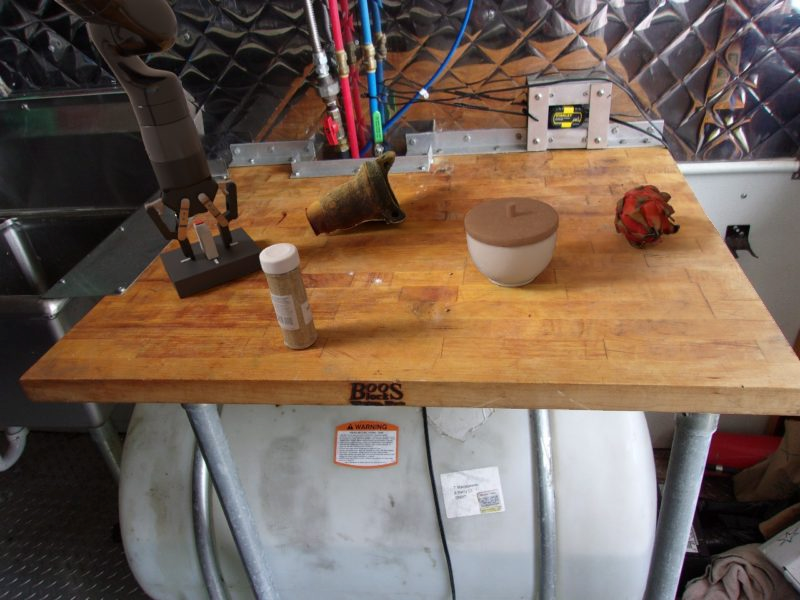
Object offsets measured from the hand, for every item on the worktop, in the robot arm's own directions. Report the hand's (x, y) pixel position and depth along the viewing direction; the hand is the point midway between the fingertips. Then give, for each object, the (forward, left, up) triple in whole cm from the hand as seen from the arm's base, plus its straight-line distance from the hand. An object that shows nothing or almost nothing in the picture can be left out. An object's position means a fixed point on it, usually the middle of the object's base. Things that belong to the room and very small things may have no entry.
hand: (209, 251), depth 94 cm
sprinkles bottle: (+4, -27, -3) cm, 28 cm away
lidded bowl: (+35, -32, -3) cm, 48 cm away
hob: (0, 0, -3) cm, 3 cm away
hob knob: (0, 0, 0) cm, 0 cm away
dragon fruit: (+56, -37, -3) cm, 67 cm away
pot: (+28, -2, -3) cm, 28 cm away
